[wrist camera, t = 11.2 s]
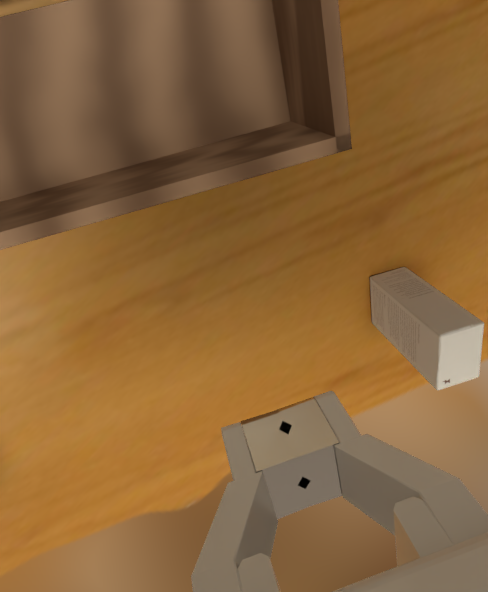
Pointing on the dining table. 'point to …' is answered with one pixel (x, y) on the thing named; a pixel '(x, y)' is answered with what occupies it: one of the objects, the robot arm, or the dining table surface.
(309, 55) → the crate
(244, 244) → the dining table surface
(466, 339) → the skincare box
